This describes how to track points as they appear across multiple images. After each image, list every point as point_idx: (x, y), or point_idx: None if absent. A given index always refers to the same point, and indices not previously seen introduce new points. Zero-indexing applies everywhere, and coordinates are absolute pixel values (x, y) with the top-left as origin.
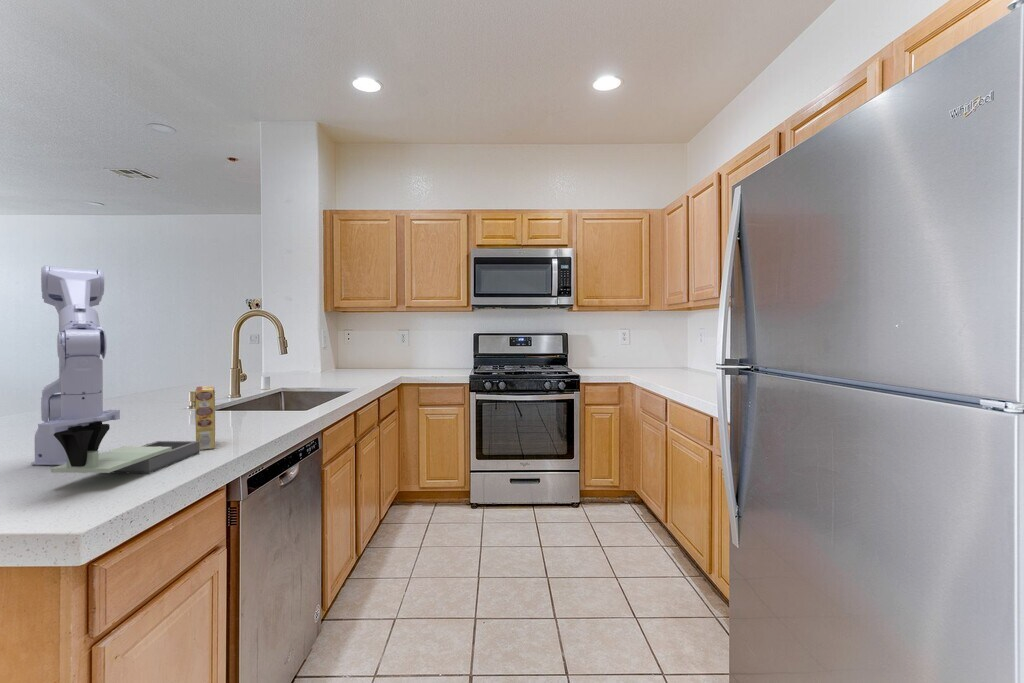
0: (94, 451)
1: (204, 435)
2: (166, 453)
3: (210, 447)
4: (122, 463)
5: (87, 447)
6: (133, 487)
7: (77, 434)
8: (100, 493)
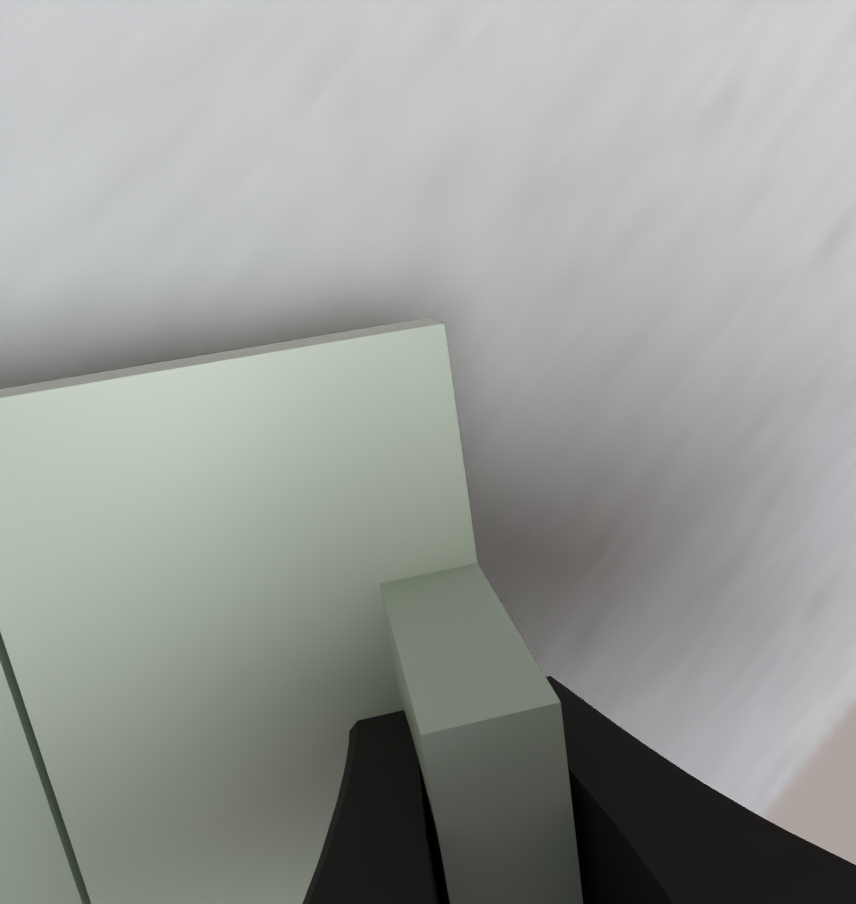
0: (476, 760)
1: None
2: None
3: None
4: (137, 391)
5: (654, 851)
6: (244, 99)
7: None
8: (489, 293)
